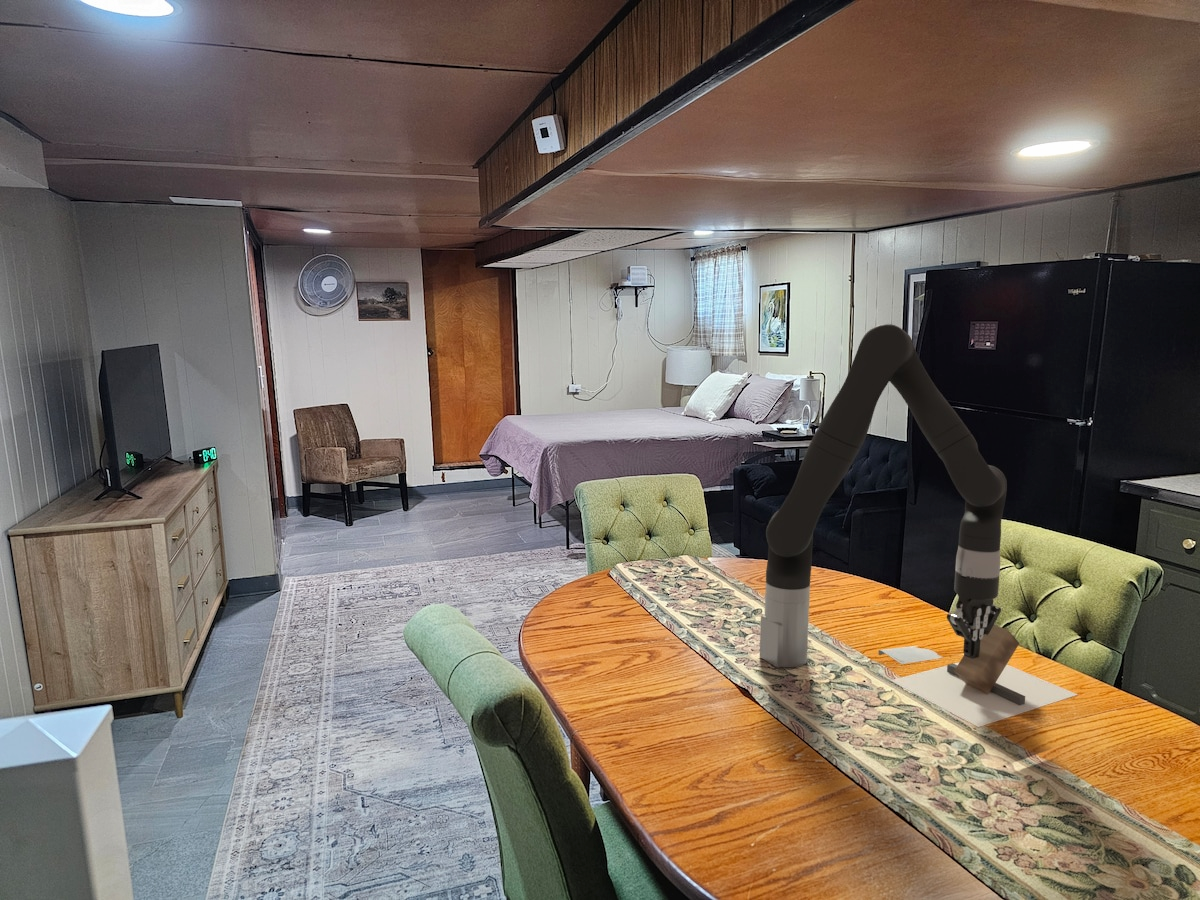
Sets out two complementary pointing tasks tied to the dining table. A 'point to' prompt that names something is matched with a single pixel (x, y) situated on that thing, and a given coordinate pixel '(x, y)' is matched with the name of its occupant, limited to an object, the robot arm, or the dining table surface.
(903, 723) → the dining table surface
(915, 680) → the grey board
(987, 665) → the walnut block
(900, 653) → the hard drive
